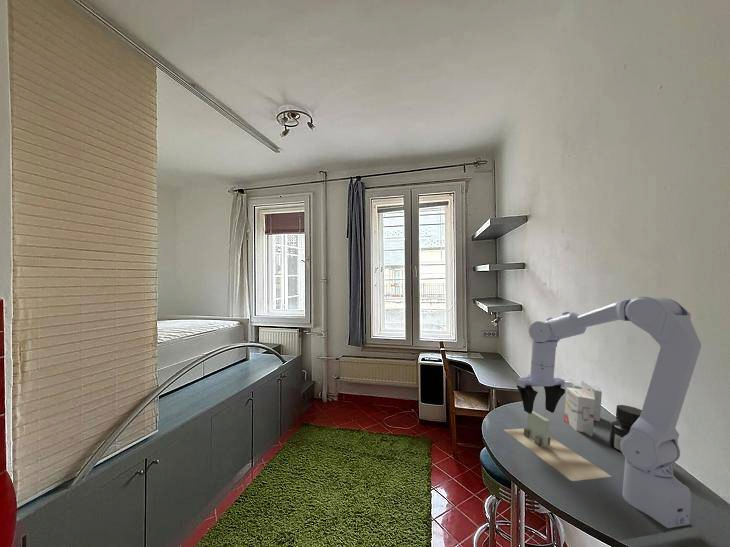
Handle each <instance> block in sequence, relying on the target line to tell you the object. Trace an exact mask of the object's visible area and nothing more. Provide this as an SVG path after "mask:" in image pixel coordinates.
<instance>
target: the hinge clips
mask: <svg viewBox="0 0 730 547" xmlns="http://www.w3.org/2000/svg"><path fill="white" fill-rule="evenodd" d="M526 428H527V427H524V428H523V429H524V436H526V437H527V438H529V433H530V431H529V430H528V429H526ZM550 437H551V436H550ZM550 437H548V445H550V439H551V438H550ZM535 443H536V444H537V445H538V446H541V438H540V437H538V436H535Z"/></svg>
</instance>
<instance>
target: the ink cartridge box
mask: <svg viewBox="0 0 730 547" xmlns="http://www.w3.org/2000/svg"><path fill="white" fill-rule="evenodd" d="M581 383H582V389H576V388H573V387H566V389H565V401H564V402H565V404H564V405H565V406H564V412H563V413H564V414H563V422H565V423H566V424H568V425H570V426H571V428H573V429H574V430H575V431H576V432H581V433H584V434H585V435H588V436H590V437H593V433H594V423H595V422H594V421H595V420H594V410H595V389H594V388H592V387H591V386H592V385H591V384H588V383H586V382H585V381H583V380H581ZM590 385H591V386H590ZM586 387H588V388H589V389H590V391H589V390H587V389H586Z"/></svg>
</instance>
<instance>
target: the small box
mask: <svg viewBox="0 0 730 547" xmlns="http://www.w3.org/2000/svg"><path fill="white" fill-rule="evenodd" d="M589 385H590V386H591V387H592V388H594V389H595V410H594V421H596V422H600V421H601V411H602V408H601V407H602V397H603V396H602V393H603V392H602V390H601V388H600V387H599V386H596V385H591V384H589ZM572 388H576V389H582V382H581V383H580V382H576V381H573V383H572ZM586 389H587V390H589V391H590V389H589V388H588V387H586Z"/></svg>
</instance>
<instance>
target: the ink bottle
mask: <svg viewBox="0 0 730 547" xmlns="http://www.w3.org/2000/svg"><path fill="white" fill-rule="evenodd" d="M641 411H642V409H641V408H637V407H634V406H630V405H624V404H618V405H616V409H615V419H616V420H613V421H611V423H610V425H609V426H610V427H609V440H608V445H609V447H610V448H611V449H613V450H614V451H617V452H619V453H620V454H622V455H623V453H622V451H621V448H620V441H621V439H622V438H623V437H624V436H626V435H627V434H628V433H629V432H630V429H631V426H632V425H633V424H634V423H635V422H636V421H637V419H638V418H639V417H640V415H641Z"/></svg>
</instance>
